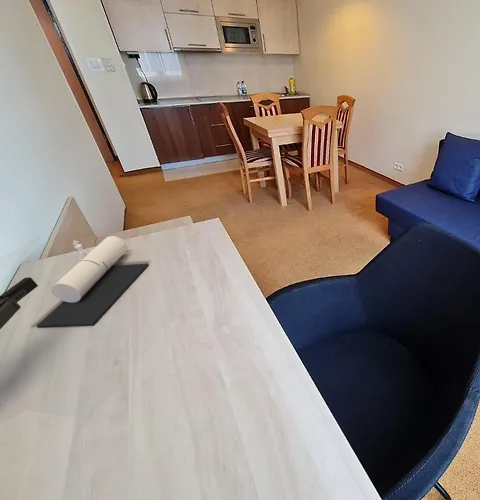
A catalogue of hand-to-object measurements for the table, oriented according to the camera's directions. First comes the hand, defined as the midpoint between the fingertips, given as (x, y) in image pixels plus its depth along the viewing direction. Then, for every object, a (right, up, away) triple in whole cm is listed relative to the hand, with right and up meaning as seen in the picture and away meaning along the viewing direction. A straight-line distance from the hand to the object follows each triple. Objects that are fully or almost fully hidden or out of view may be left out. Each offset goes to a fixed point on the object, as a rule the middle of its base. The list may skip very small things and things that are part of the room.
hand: (31, 281), depth 73 cm
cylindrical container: (-3, -5, +12) cm, 13 cm away
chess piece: (-12, +2, +31) cm, 34 cm away
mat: (+2, -5, +18) cm, 19 cm away
